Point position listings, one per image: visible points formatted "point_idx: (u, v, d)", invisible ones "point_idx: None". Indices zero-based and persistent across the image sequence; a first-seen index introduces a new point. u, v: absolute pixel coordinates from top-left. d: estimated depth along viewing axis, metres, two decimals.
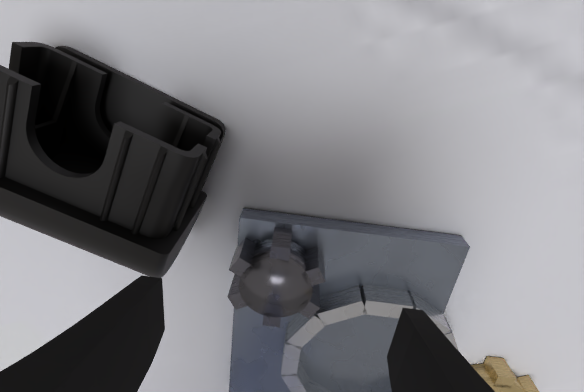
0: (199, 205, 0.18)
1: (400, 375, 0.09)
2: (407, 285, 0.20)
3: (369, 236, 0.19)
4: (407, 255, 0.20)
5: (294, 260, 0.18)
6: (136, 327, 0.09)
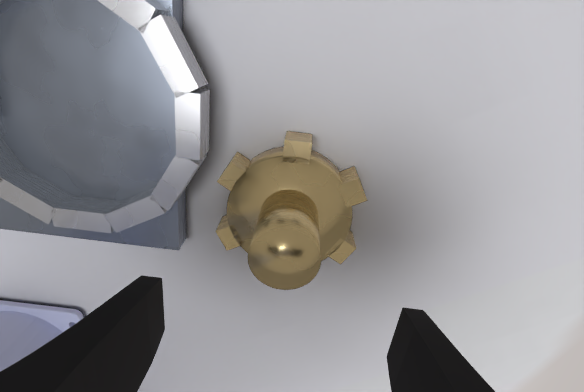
0: None
1: (400, 375, 0.09)
2: None
3: None
4: None
5: None
6: (136, 327, 0.09)
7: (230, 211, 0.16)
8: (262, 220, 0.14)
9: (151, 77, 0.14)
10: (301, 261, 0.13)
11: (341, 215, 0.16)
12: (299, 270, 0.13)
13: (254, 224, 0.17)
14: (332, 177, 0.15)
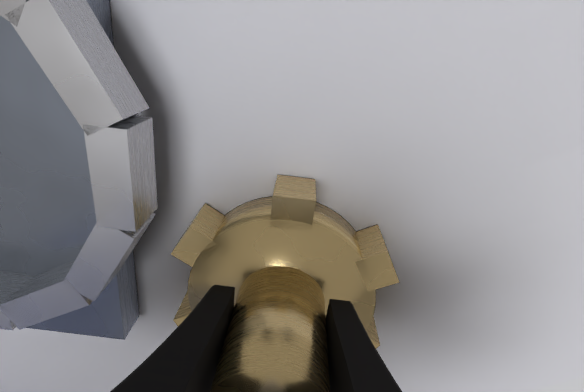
0: None
1: None
2: None
3: None
4: None
5: None
6: (220, 337, 0.09)
7: (193, 294, 0.11)
8: (234, 334, 0.08)
9: (58, 98, 0.09)
10: None
11: (359, 301, 0.11)
12: None
13: None
14: (347, 250, 0.10)
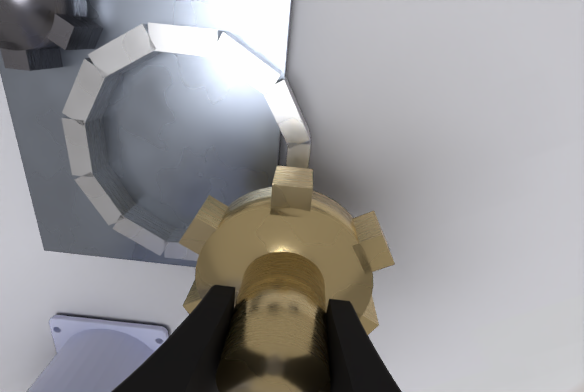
0: None
1: None
2: (223, 22, 0.14)
3: None
4: None
5: None
6: (220, 337, 0.09)
7: (201, 280, 0.12)
8: (239, 313, 0.09)
9: (259, 127, 0.16)
10: (299, 385, 0.08)
11: (357, 283, 0.11)
12: None
13: (235, 296, 0.12)
14: (343, 234, 0.11)
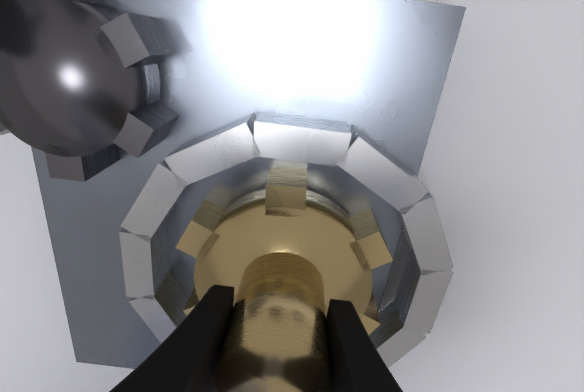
0: None
1: None
2: (345, 112, 0.11)
3: None
4: (340, 35, 0.10)
5: (78, 5, 0.08)
6: (219, 337, 0.09)
7: (199, 284, 0.12)
8: (237, 314, 0.09)
9: None
10: (298, 385, 0.08)
11: (356, 282, 0.11)
12: None
13: (235, 299, 0.12)
14: (340, 232, 0.11)
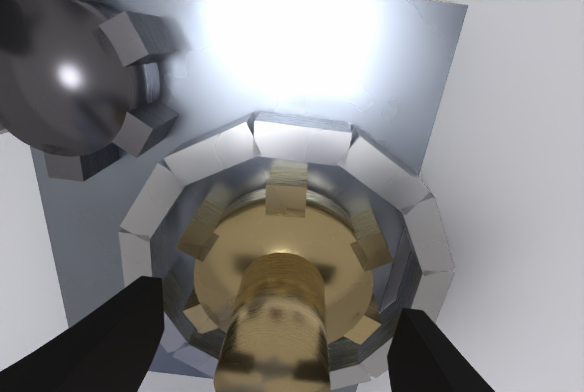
0: None
1: (400, 375, 0.09)
2: (346, 111, 0.10)
3: None
4: (341, 34, 0.10)
5: (76, 3, 0.08)
6: (136, 327, 0.09)
7: (199, 285, 0.12)
8: (236, 315, 0.09)
9: None
10: (298, 386, 0.08)
11: (357, 282, 0.11)
12: None
13: (235, 300, 0.12)
14: (340, 232, 0.10)
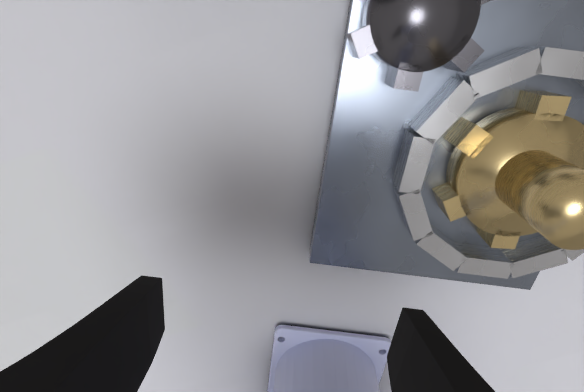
0: None
1: (400, 375, 0.09)
2: None
3: None
4: None
5: None
6: (136, 327, 0.09)
7: (464, 178, 0.16)
8: (542, 178, 0.13)
9: None
10: None
11: None
12: None
13: (487, 191, 0.16)
14: None
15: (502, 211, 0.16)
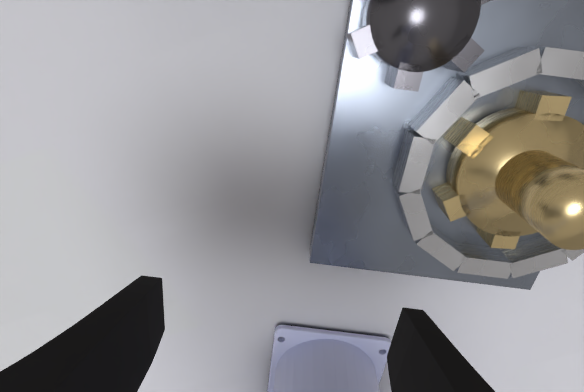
0: None
1: (400, 375, 0.09)
2: None
3: None
4: None
5: None
6: (136, 327, 0.09)
7: (464, 178, 0.16)
8: (542, 178, 0.13)
9: None
10: None
11: None
12: None
13: (487, 191, 0.16)
14: None
15: (502, 211, 0.16)
